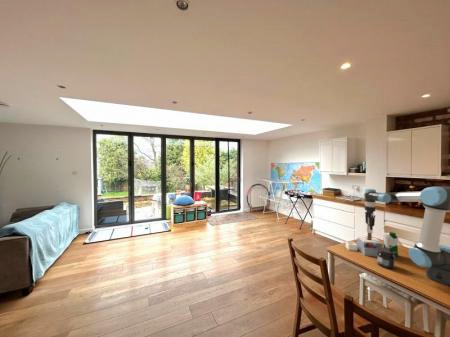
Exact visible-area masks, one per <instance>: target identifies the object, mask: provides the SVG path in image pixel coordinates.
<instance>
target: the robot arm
mask: <svg viewBox="0 0 450 337" xmlns="http://www.w3.org/2000/svg"><path fill="white" fill-rule="evenodd" d="M376 202H380V203H385V204H388V203H390V202H391V203H392V202H395V203H396V202H397V203H398V202H402V203H403V202H405V203H406V202H409V203H411V202H419V203H422V206H423V207H424V208H425V209H424V215H423V219H422V225H421V229H420V232H419V233H420V234H419V239H418V241H415V242H414V246H413V247H411V248H409V250H408V257H409V258H410V259H411V261H412V262H413V263H414V264H415V265H417V266H419V267H423V268H425V267H426V268H427V269H426V271H425V276H426V277H427V278H428V279H430V280H432V281H434V282H436V283H439V284H440V285H441V284H442V285H444V286H448V287H450V247H449V246H447V245H443V244H440V239H441V235H442V231H443V227H444V221H445V217H446V213H447V212H450V186H430V187H429V186H428V187H425V188H424V189H422V190H421V191H400V192H399V191H398V192H396V191H395V192H379V191H378V192H377V190H376V189H373V188H366V189H365V190H364V210H365V212H364V214H365V216H364V217H365V218H364V219H365V224H366V232H367V233H368V226H369V233H372V234H373V231H374V230H373V228H374V227H375V220H376V215H375V214H374V212H376ZM368 218H369V225H368Z"/></svg>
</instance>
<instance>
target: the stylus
mask: <svg viewBox="0 0 450 337" xmlns="http://www.w3.org/2000/svg"><path fill="white" fill-rule="evenodd" d="M368 225H369V218H368ZM372 234H373V233H369V226H368V232H367V237H368V239H367V240H370V241H372V238H373V237H372V236H373V235H372Z"/></svg>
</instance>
